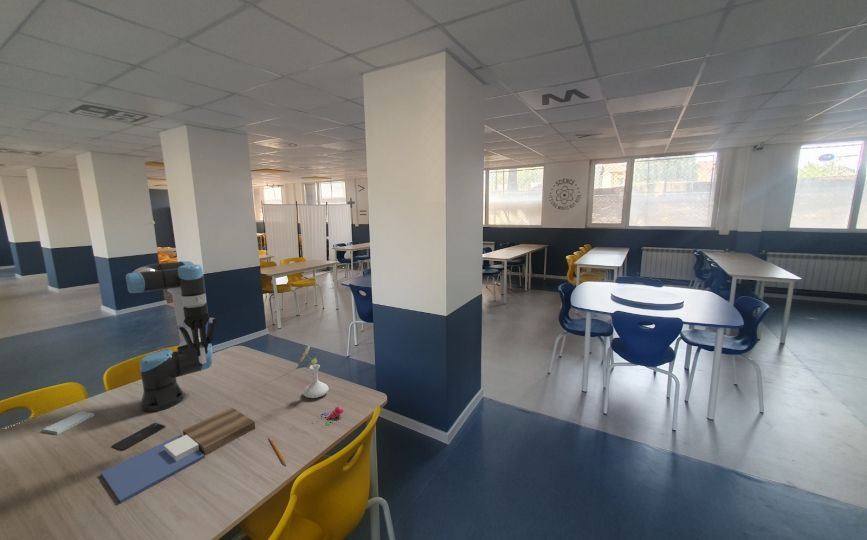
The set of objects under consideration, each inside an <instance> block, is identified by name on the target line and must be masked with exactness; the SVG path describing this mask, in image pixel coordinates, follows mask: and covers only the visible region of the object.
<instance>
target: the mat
mask: <svg viewBox="0 0 867 540" xmlns="http://www.w3.org/2000/svg"><path fill="white" fill-rule="evenodd" d="M182 436H183V435H182V434H179V435H177V436H175V437H173V438H171V439H168V440H166V441H164V442H162V443H160V444H158V445H156V446H153V447H151V448H149V449H148V450H145V451H143V452H140V453H139V454H136V455H135V456H132V457H130V458H128V459H125V460H124V461H122V462H119V463H118V464H117V463H116V465H112V466H111V467H108V468H107V469H105V470H102V471H101V472H100V474H101V476H102V478H103V479H104V481H105V483H107V485H108V487H109V488H110V489H111V491H112V493H113V494H114V495H115V496H116V497H115V498H116V499H117V500H118V501H119V503H120V504H122V503H124V502H126V501H127V500H129V499H130V500H131V499H132V498H134V497H135V496H137V495H139V494H140V493H143V492H144V491H146V490H148V489H150V488H151V487H154V486H155V485H157V484H159V483H161V482H162V481H165V480H166V479H168V478H170V477H171V476H173V475H176V474H178V473H179V472H181V471H183V470H184V469H187V468H189V467H190V466H192V465H193V464H195V463H198V462H199V461H202V460H204V459H205V458H206V455H204V454H203V453H202V452H201V451H199V450H197V451H195V452H193V453H191V454H190V455H188V456H186V457H184V458H182V459H180V460H178V461H175V460H174V459H173V458H172V457H171V456H170V455H169V454H168V453H167V452H166V451H165V449H164V445H166V444H168V443H170V442H172V441H174V440H176V439H178V438H180V437H182Z"/></svg>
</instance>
